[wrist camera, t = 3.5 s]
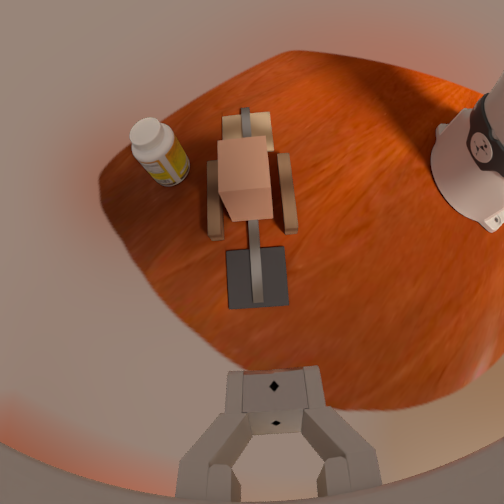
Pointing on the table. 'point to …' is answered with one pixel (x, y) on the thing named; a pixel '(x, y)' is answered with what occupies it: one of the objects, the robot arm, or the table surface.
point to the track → (218, 223)
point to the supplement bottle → (159, 151)
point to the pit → (271, 278)
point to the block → (245, 178)
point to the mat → (258, 127)
